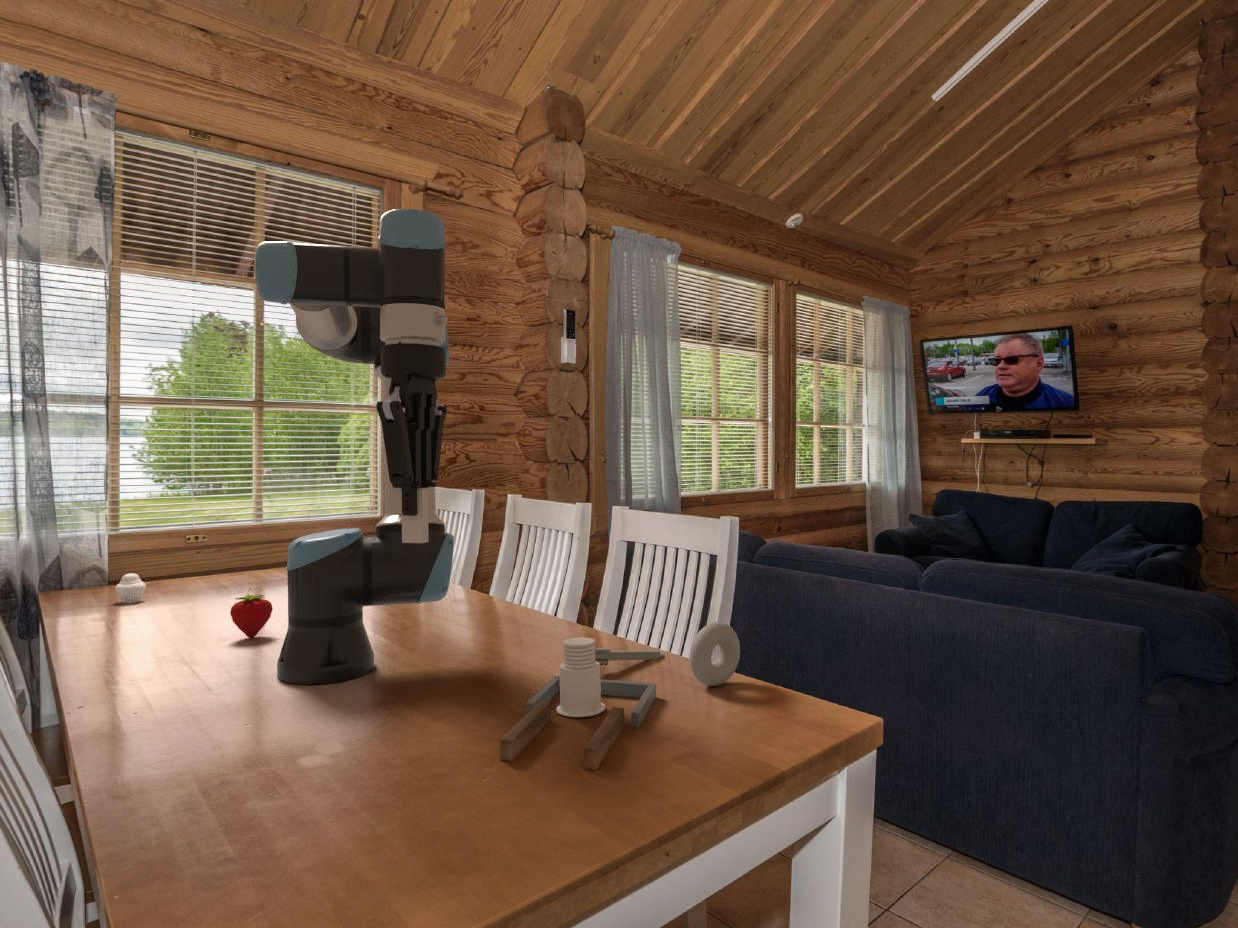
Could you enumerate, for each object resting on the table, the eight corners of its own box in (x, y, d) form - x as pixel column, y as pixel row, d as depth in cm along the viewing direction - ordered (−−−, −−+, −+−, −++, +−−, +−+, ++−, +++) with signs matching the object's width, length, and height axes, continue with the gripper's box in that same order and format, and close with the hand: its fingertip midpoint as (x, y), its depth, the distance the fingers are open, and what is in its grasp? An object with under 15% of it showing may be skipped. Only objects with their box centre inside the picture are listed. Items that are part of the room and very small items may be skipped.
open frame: (526, 717, 106) (526, 702, 106) (555, 688, 118) (555, 675, 118) (638, 727, 102) (638, 712, 102) (656, 696, 114) (656, 683, 114)
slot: (500, 759, 92) (500, 739, 92) (539, 718, 105) (539, 700, 105) (596, 770, 89) (596, 749, 89) (624, 726, 102) (624, 707, 102)
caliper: (576, 682, 121) (576, 644, 121) (571, 681, 122) (571, 642, 122) (665, 658, 135) (665, 623, 135) (660, 656, 136) (660, 622, 136)
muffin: (123, 605, 176) (122, 575, 176) (110, 602, 179) (109, 573, 179) (151, 601, 181) (150, 572, 181) (138, 598, 185) (138, 569, 184)
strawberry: (276, 637, 148) (275, 586, 147) (234, 644, 143) (233, 591, 143) (269, 631, 152) (268, 582, 152) (227, 637, 148) (226, 586, 147)
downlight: (617, 710, 108) (615, 640, 108) (580, 723, 103) (578, 650, 103) (581, 699, 114) (579, 632, 114) (544, 710, 109) (542, 641, 109)
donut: (700, 694, 115) (700, 629, 115) (684, 689, 118) (684, 625, 117) (744, 681, 121) (745, 619, 121) (728, 676, 124) (729, 615, 124)
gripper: (414, 337, 83) (416, 551, 84) (466, 350, 96) (467, 536, 97) (353, 339, 85) (356, 548, 86) (412, 352, 98) (414, 534, 98)
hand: (415, 541), depth 91 cm, fingers closed
